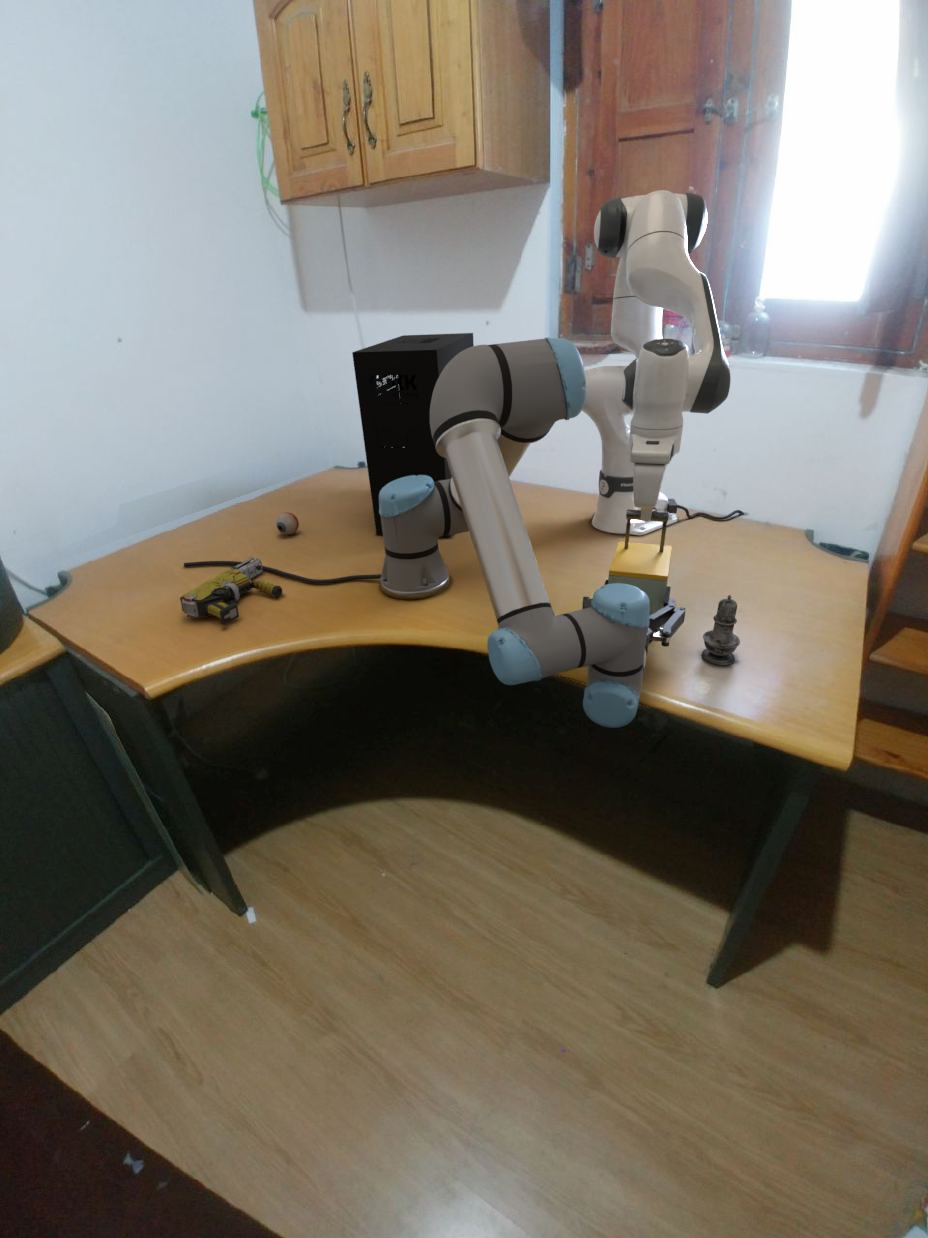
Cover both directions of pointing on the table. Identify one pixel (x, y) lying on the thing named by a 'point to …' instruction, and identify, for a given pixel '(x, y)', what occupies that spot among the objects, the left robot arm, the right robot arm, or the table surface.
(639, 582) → the chest
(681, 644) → the table surface
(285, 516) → the eyeball
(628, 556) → the lid
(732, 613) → the dark grey chess piece
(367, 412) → the black computer tower
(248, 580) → the yellow angle grinder
